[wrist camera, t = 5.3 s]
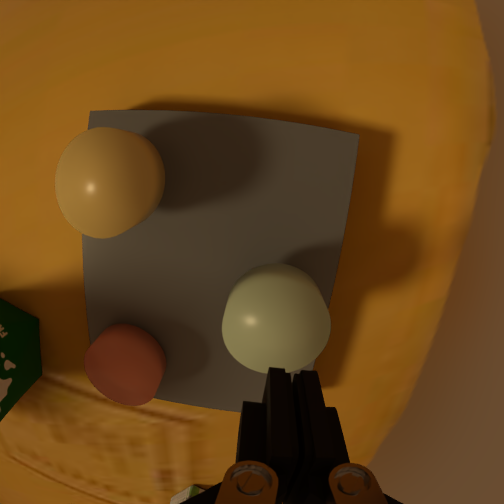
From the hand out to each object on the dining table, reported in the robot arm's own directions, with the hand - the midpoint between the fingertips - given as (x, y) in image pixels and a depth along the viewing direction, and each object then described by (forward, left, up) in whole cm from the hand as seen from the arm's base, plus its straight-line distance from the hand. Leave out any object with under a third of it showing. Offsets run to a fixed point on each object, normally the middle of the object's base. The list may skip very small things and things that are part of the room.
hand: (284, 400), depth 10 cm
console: (0, -5, -12) cm, 13 cm away
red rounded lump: (+6, -9, -11) cm, 16 cm away
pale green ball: (0, 0, -10) cm, 10 cm away
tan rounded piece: (-6, -9, -10) cm, 15 cm away
